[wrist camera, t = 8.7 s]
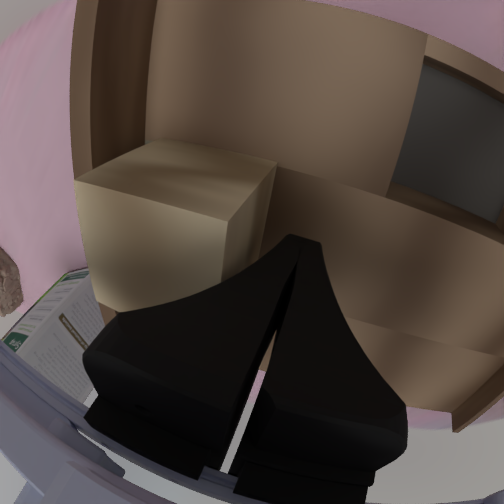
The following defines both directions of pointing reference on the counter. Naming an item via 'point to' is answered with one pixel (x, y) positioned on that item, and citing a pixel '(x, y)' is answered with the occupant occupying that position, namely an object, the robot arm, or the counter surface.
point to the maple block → (171, 221)
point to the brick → (9, 285)
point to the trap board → (330, 161)
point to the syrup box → (60, 333)
